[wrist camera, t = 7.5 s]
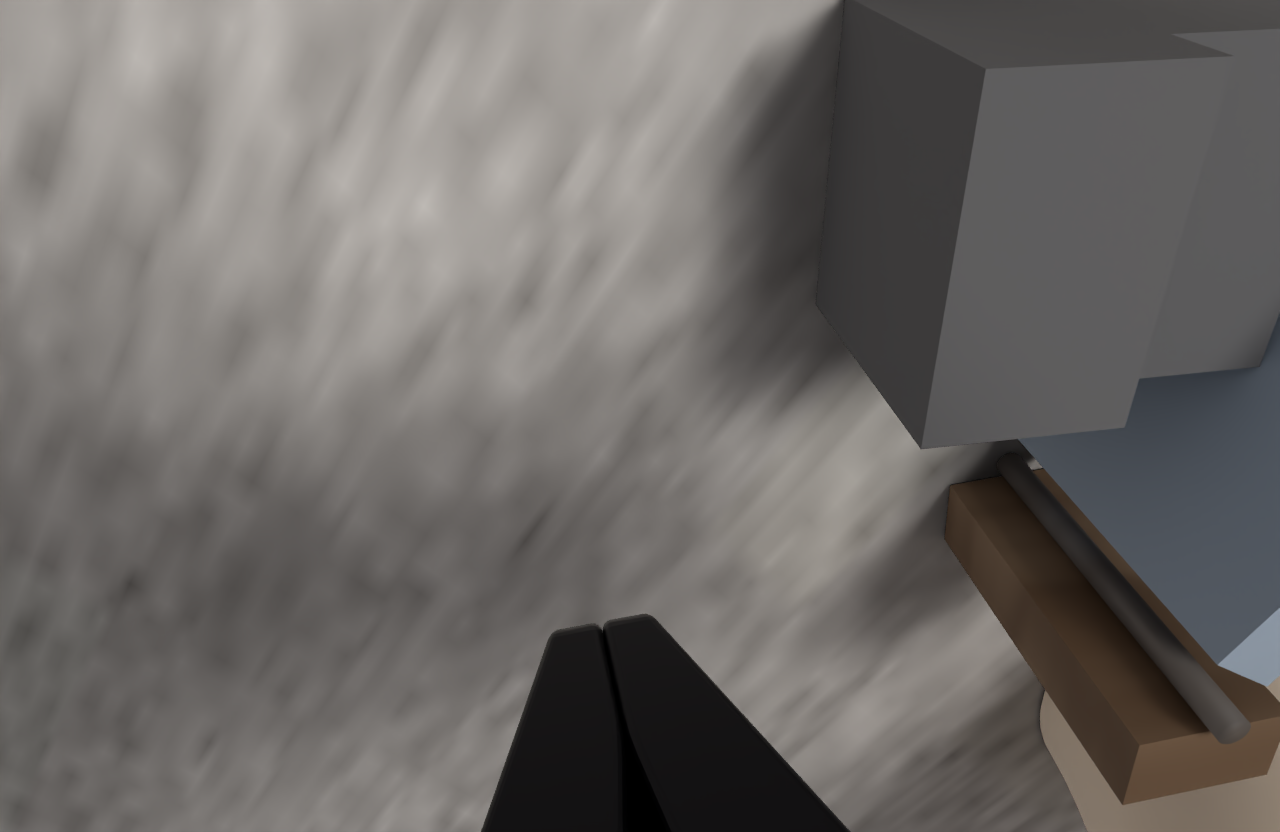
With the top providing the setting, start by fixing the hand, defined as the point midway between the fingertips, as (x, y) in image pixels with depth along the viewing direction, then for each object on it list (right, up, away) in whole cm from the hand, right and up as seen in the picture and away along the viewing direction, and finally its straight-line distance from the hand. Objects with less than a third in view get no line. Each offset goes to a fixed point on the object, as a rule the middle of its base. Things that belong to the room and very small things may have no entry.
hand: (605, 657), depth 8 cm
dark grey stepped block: (+6, +6, +8) cm, 12 cm away
